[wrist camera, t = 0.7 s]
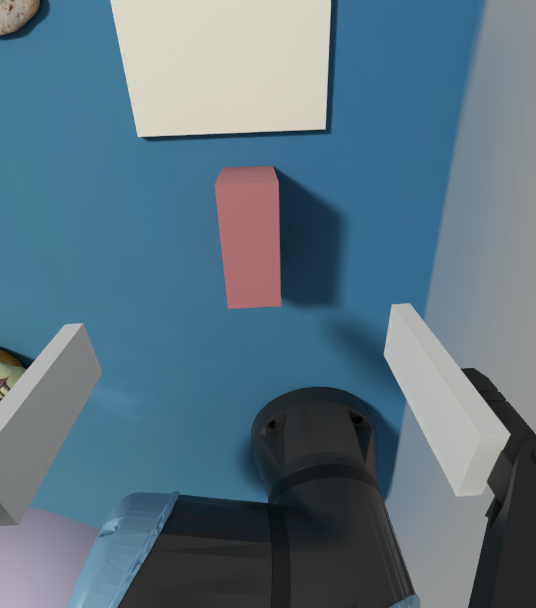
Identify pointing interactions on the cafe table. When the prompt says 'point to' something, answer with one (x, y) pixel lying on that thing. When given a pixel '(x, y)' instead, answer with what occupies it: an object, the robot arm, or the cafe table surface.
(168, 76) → the serving mat
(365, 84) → the cafe table surface
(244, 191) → the card deck box
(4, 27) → the flatbread
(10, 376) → the decorated donut
